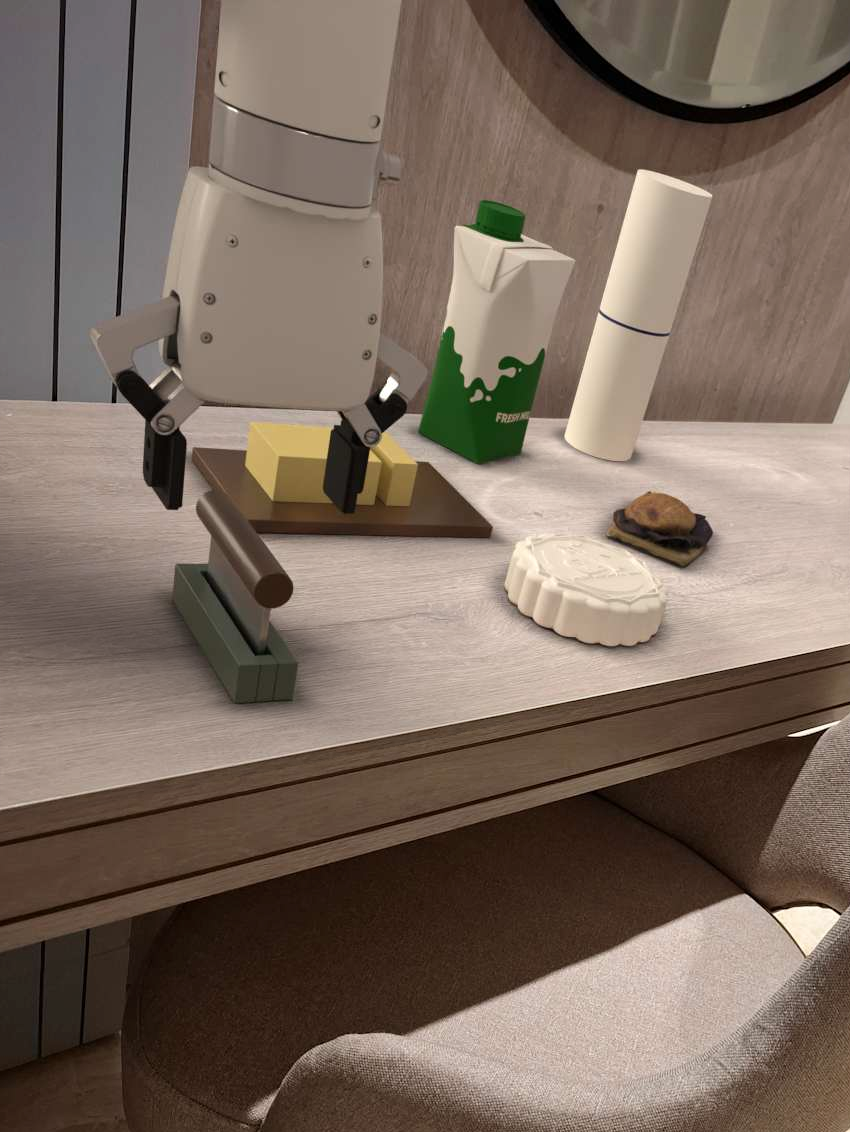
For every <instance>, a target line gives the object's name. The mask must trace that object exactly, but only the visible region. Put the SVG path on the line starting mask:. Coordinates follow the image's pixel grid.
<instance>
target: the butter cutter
mask: <svg viewBox="0 0 850 1132" xmlns="http://www.w3.org/2000/svg"><path fill="white" fill-rule="evenodd" d="M195 512H196V515H197V517H198V519H199V520H200V521H201V523H202V525H203V526H204V528H205V530H206V531H207V532H208V534H209V535H210V544H209V546H210V547H209V551H208V552H209V553H208V563H207V564H208V571H207V580H206V582H207V583H208V585H209V586H210V588H211V589H212V591H213V592H214V594H215V595H216V597H217V598H218V600H219V602H220V603H221V605H222V606H223V608H224V609H225V611H226V612H227V614H228V615H229V617H230V619H231V620H232V622H233V623H234V625H235V626H236V628H237V629H238V631H239V632H240V634H241V635H242V637H243V639H244V640H245V642H246V643H247V645H248V646H249V648H250V649H251V651H252V652H253V654H254V656H256V655H264V653H265V646H266V640H267V633H268V626H269V621H270V618H271V611H272V609H277V608H280V607H282V606H284V605H286V604H287V603H288V602H289V601H290V599H291V598H292V596H293V594H294V589H295V588H294V587H295V586H294V582H293V580H292V579H291V577H290V576H289V574H288V573H287V572H286V570H285V569H284V568H283V566H282V565H281V563H280V562H279V561H278V560H277V558H276V557H275V555H274V554H273V553H272V551H271V550H270V548H269V547H268V546H267V544H266V543H265V542H264V540H263V539H262V538H261V537H260V535H259V534H258V532H256V531H255V530H254V528H253V527H252V526H251V524H250V523H249V522H248V520H247V519H246V518H245V516H244V515H243V513H242V512H241V511H240V509H239V508H238V507H237V505H236V504H235V503H234V501H233V500H232V499H231V497H230V496H229V495H228V494H227V493H225V492H223V491H220V490H214V489H213V490H208V491H205V493H204V492H203V494H202V495H200V497H199V498H198V499H197V502H196V504H195Z"/></svg>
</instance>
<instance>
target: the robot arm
mask: <svg viewBox="0 0 850 1132" xmlns="http://www.w3.org/2000/svg"><path fill="white" fill-rule="evenodd" d="M401 7H402V0H220V10H219V11H220V12H219V26H218V36H217V37H218V38H217V52H216V64H215V77H214V89H213V90H214V91H213V93H214V94H213V102H212V103H213V104H212V115H211V117H212V118H211V128H210V129H211V131H210V143H209V155H208V167H205V166H199V165H198V166H197V165H196V166H190V167H189V169H188V172H187V175H186V179H185V182H184V185H183V188H182V192H181V195H180V200H179V203H178V208H177V212H176V216H175V222H174V226H173V231H172V237H171V242H170V248H169V253H168V259H167V266H166V272H165V278H164V284H163V291H162V297H161V299H159V300H157V301H154V302H150V303H148V304H146V305H143V306H141V307H138V308H135V309H133V310H130V311H128V312H125V313H123V314H120V315H118V316H115V317H111V318H110V319H107V320H104V321H103V322H99V323H97V324H95V325H94V326H92V328H91V329H90V338H91V340H92V342H93V344H94V346H95V348H96V350H97V353H98V354H99V357H100V358H101V362H102V364H103V365H104V367H105V369H106V370H107V373H108V376H109V378H110V381H111V382H112V383H113V384H114V385H115V387H116V388H117V389H118V391H119V392H120V394H121V395H122V396H123V398H125V399H126V401H127V402H128V403H129V404H130V405H131V406H132V407H133V408H134V409H135V410H136V411H137V413H139V415H140V416H141V417H142V418H143V419H144V421H145V422H144V425H145V426H144V438H143V439H144V441H143V458H142V477H143V480H144V483H145V484H146V485H147V487H148V488H151V489H152V491H153V492H154V493H155V495H156V497H158V499H159V500H160V503H162V505H163V507H164V508H165V509H166V511H178V510H179V509H180V508H181V509H182V508H183V500H184V499H183V498H184V488H185V487H184V486H185V475H186V474H185V473H186V462H187V449H188V448H187V447H188V442H187V438H186V437H185V435H184V434H183V433H182V431H181V430H180V429H181V425H182V424H184V423H185V421H187V420H188V419H189V418H190V417H191V416H192V415H193V414H195V412H196V411H197V410H198V409H199V408H200V407H201V406H202V405H203V404H204V403H205V402H206V401H208V402H213V403H218V404H219V403H220V404H228V405H229V404H230V405H239V406H242V405H243V406H251V407H252V406H253V407H265V408H278V409H279V408H280V409H293V410H307V411H319V412H320V411H322V412H323V411H324V412H336V414H337V415H338V417H339V418H340V424H333V428H334V429H332V430H331V433H330V440H329V447H328V454H327V461H326V468H325V475H324V481H323V492H324V493H325V494H326V495H327V497H328V498H329V499H330V500H331V501H332V502H333V503H334V505H335V506H336V507H337V508H338V509H339V510H340V511H342V512H343V513H344V514H354V512H355V508H356V502H357V496H358V494H361V493H362V491H363V488H364V483H365V477H366V471H367V465H368V459H369V453H370V447H374V446H376V445H378V444H379V443H380V441H381V438H382V433H383V432H387V430H388V429H389V428H390V427H392V426H393V425H394V424H395V423H396V422H398V421H399V420H400V419H401V418H403V416H405V415H406V413H407V411H408V410H407V409H408V403H409V402H410V401H412V400H413V399H414V397H415V396H416V395H417V393H418V392H419V390H420V389H421V387H422V386H423V385H424V383H425V382H426V380H427V378H428V376H429V371H428V368H427V367H426V366H425V364H423V363H422V362H421V361H420V360H419V359H417V358H416V357H415V356H414V355H412V354H411V353H410V352H408V351H407V350H406V349H404V348H403V347H402V346H400V345H399V344H398V343H396V342H395V341H394V340H392V339H391V338H390V337H388V336H387V335H386V334H385V333H383V332H382V331H381V321H382V310H383V309H382V308H383V291H384V289H383V288H384V250H383V228H382V216H381V213H380V212H379V211H377V210H376V209H375V207H373V206H372V202H373V201H377V196H378V195H377V193H378V189H379V188H378V187H382V186H384V185H389V186H398V185H399V183H400V181H401V178H402V172H403V168H402V167H403V165H402V160H401V158H400V156H398V155H394V154H389V153H388V152H387V151H386V150H385V149H384V148H385V143H384V141H382V140H381V139H382V134H383V128H384V122H385V121H384V120H385V114H386V108H387V101H388V94H389V87H390V79H391V73H392V67H393V61H394V55H395V54H394V53H395V46H396V41H397V35H398V34H397V33H398V27H399V21H400V14H401ZM157 341H158V352H159V356H160V359H161V360H162V362H163V363H164V365H166V366H167V367H166V368H165V369H164V370H163V371H162V372H161V373H160V374H159V375H158V376H157V377H156V378H155V379H154V380H153V381H152V382H151V383H150V384H148V382H147V381H146V380H145V379H144V378H143V377H142V376H141V374H140V373H139V371H138V369H137V366H136V363H135V361H134V357H133V356H134V353H135V351H136V350H138V349H139V348H142V347H145V346H146V345H150V344H152V343H155V342H157ZM377 360H378V361H380V362H381V363H382V364H384V365H385V366H386V367H388V368H389V369H390V375H389V377H388V379H387V380H386V382H387V383H386V384H385V385H384V386H382V387H379V389H377V390H376V391H375V392H373V394H372V395H370V394H371V391H372V386H373V382H374V378H375V373H376V367H377Z"/></svg>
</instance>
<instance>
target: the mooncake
mask: <svg viewBox="0 0 850 1132" xmlns="http://www.w3.org/2000/svg"><path fill="white" fill-rule="evenodd" d="M505 577H506V578H505V581H504V588H505V591H507V597H508V600H509V601H510V602H511V603H512V604H514V605H516V606H517V608H518V611H519V612H520V613H521V614H522V615H524V616H526V617H529V618H532V619H533V621H534V623H536V624H537V625H538V626H541V627H543V628H547V629H552V630H553V631H554V632H555V633H557V634H558V635H560V636H562V637H567V638H575V639H577V640H578V641H581V642H582V643H586V644H595V643H596V644H600V645H603V646H606V647H616V646H618V645H621V646H626V647H632V646H635V645H636V644H637V643H644V642H648V641H649V640H650V639H651V637H652V636H653V635H656V633H657V632H658V630H659V627H660V624H661V622H662V619H663V616H664V613H665V610H666V607H667V605H668V602H669V598H668V595H669V589H668V587H667V585H666V584H664V580H663V577H662V576H660V574H658V573H656V572H655V571H653V569H652V568H651V566H650V565H649V564H647V563H646V561H645V560H643V559H641V558H638V557H635V556H634V555H633V554H631V553H630V552H629V551H628V550H627V549H623V548H620V547H616V546H613V545H611V544H608V543H603V542H601V541H598V540H595V539H593V538H591V537H589V536H586V535H584V534H571V533H570V534H569V533H566V532H562V531H560V532H557V533H551V532H545V533H544V532H543V533H541V534H539V535H529V536H526V537H525V539H524V540H520V541H517V543H516V544H515V546H514V550H513V552H512V555H511V559H510V561H509V567H508V569H507V574H506V576H505Z"/></svg>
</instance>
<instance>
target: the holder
mask: <svg viewBox="0 0 850 1132" xmlns="http://www.w3.org/2000/svg"><path fill="white" fill-rule="evenodd" d="M174 566H175V567H174V576H173V586H172V597H171V599H172V602H173V603H174V605H175V607H176V609H177V610H178V612H179V613H180V615H181V617H182V618H183V620H184V622H185V623H186V625H187V627H188V628H189V630H190V632H191V634H192V635H193V637H194V639H195V640H196V642H197V643H198V645H199V646H200V649H201V650H202V651H203V653H204V655H205V656H206V658H207V660H208V662H209V664H210V665H211V666H212V668H213V670H214V671H215V674H216V675H217V676H218V678H219V680H220V681H221V683H222V685H223V686H224V688H225V690H226V692H227V693H228V695H229V697H230V698H231V699H232V701H233V703H234V704H245V703H255V702H257V703H258V702H272V701H273V702H274V701H291V700H293V699H294V693H295V687H296V680H297V675H298V668H299V661H298V660H297V659H296V657H295V656H294V654H293V653H292V651H291V650H290V648H289V647H288V646H287V644H286V642H285V641H284V640H283V638H282V637H281V635H280V634H279V632H278V631H277V630H276V627H274V625H273V624H272V623H271V621H270V620H269V626H268V633H267V640H266V646H265V653H264V655H256V656H254V654H253V652H252V651H251V649H250V648H249V646H248V645H247V643H246V642H245V640H244V639H243V637H242V635H241V634H240V632H239V631H238V629H237V628H236V626H235V625H234V623H233V622H232V620H231V619H230V617H229V615H228V614H227V612H226V611H225V609H224V608H223V606H222V605H221V603H220V602H219V600H218V598H217V597H216V595H215V594H214V592H213V591H212V589H211V588H210V586H209V585H208V583H207V582H206V580H207V571H208V563H182V562H181V563H180V562H179V563H175V565H174Z"/></svg>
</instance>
